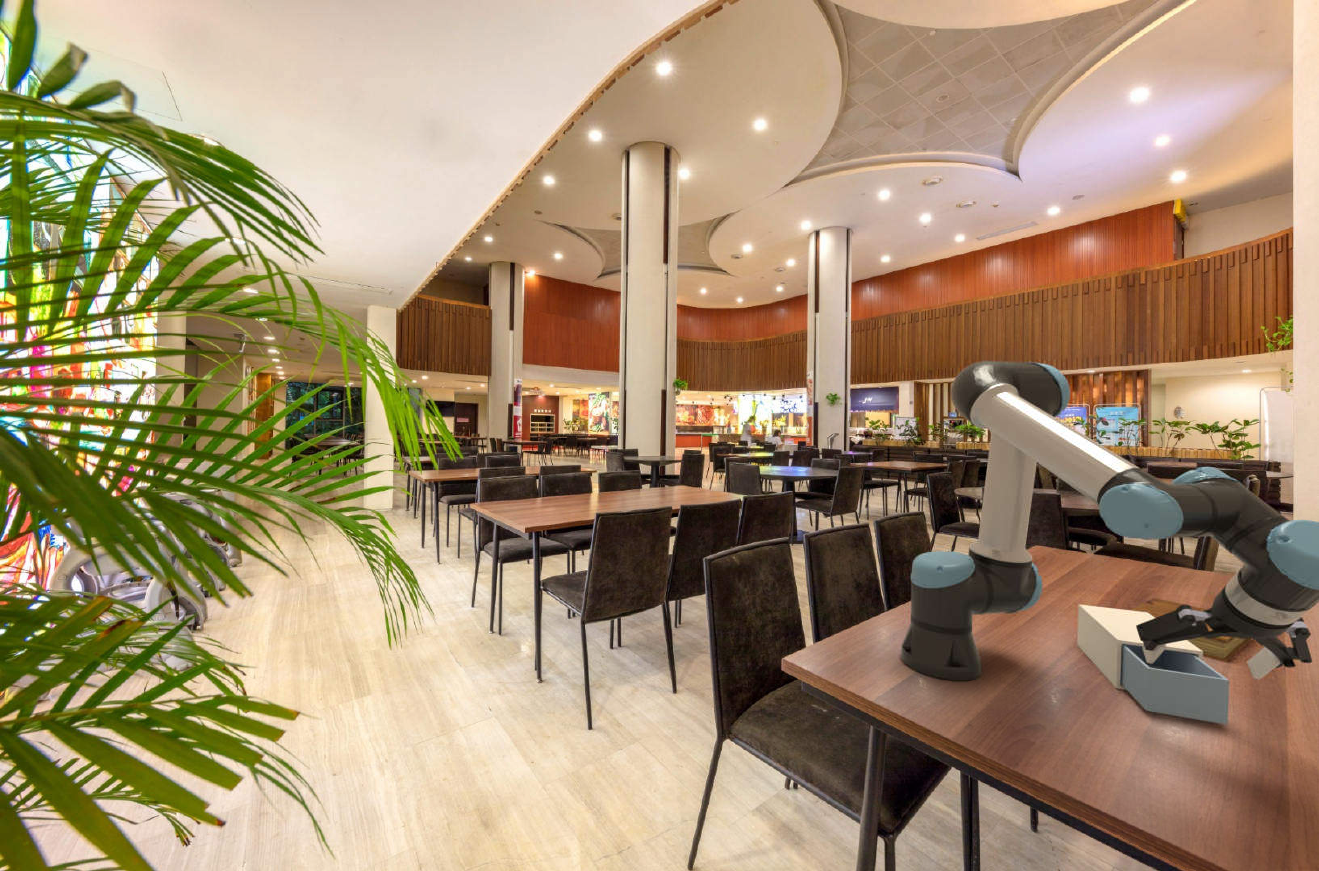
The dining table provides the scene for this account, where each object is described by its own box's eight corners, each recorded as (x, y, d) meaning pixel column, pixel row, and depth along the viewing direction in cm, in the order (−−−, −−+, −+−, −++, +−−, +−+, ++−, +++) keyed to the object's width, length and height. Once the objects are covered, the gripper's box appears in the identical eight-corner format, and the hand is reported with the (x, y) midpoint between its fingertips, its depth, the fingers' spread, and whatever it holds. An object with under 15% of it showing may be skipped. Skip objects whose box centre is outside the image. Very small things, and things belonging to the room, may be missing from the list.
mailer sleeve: (1201, 702, 98) (1203, 651, 98) (1116, 688, 103) (1117, 639, 103) (1146, 654, 118) (1147, 612, 118) (1077, 644, 123) (1078, 604, 123)
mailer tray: (1227, 724, 89) (1229, 680, 89) (1146, 710, 93) (1147, 668, 93) (1163, 668, 109) (1164, 632, 109) (1098, 659, 113) (1099, 624, 113)
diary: (1149, 617, 143) (1149, 596, 143) (1251, 642, 127) (1252, 618, 127) (1118, 634, 130) (1118, 611, 130) (1226, 664, 115) (1228, 638, 115)
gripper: (1155, 613, 77) (1112, 670, 92) (1405, 642, 68) (1313, 701, 82) (1140, 568, 82) (1101, 629, 96) (1371, 590, 72) (1290, 654, 87)
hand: (1198, 662), depth 89 cm, fingers open, 13 cm apart
